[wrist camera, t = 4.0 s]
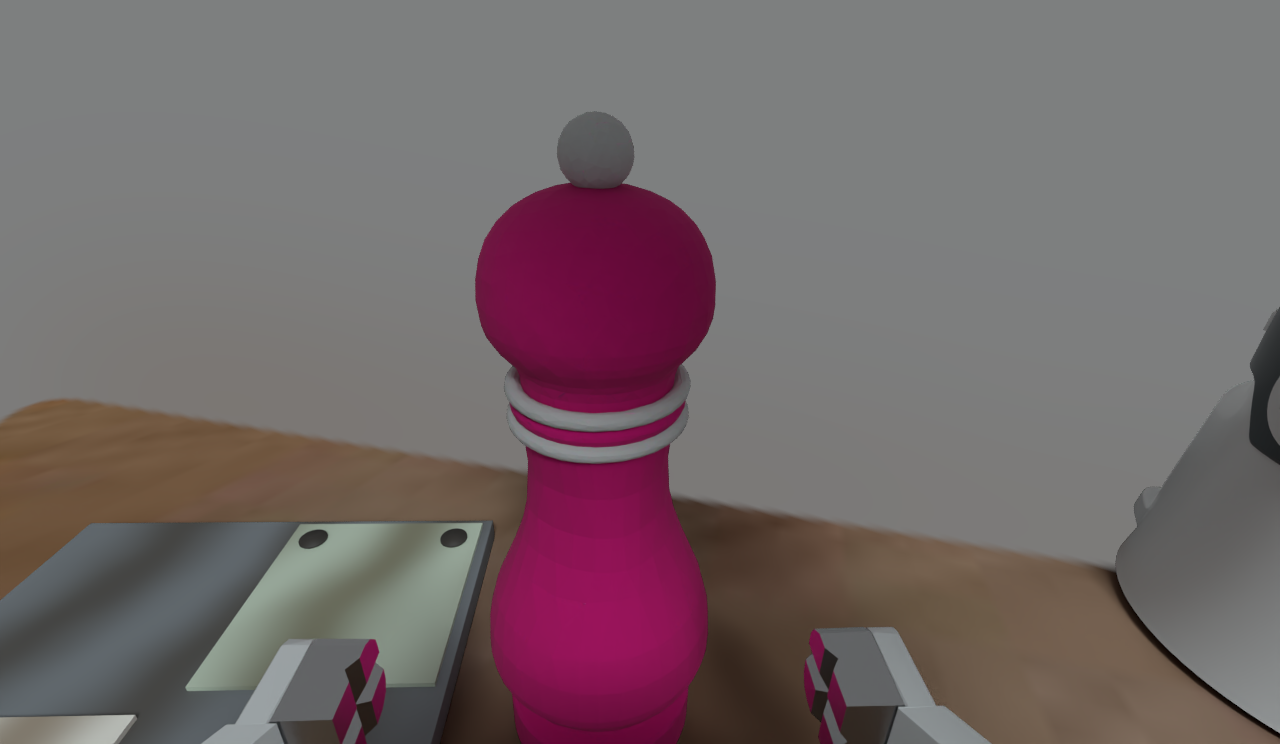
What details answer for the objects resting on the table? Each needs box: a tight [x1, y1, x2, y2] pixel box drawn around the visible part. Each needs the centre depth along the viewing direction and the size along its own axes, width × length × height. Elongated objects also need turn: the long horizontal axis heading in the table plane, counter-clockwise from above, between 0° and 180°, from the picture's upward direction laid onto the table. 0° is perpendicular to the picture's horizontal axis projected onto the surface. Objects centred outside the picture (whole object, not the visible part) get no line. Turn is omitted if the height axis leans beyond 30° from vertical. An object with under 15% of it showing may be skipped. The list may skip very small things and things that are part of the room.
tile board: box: [0, 521, 494, 744], centre depth 21 cm, size 19×19×1 cm
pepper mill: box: [475, 112, 716, 744], centre depth 18 cm, size 7×7×20 cm
